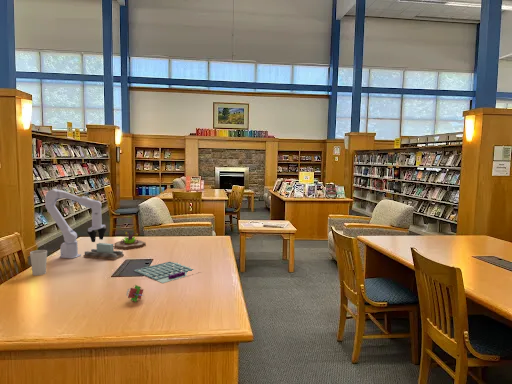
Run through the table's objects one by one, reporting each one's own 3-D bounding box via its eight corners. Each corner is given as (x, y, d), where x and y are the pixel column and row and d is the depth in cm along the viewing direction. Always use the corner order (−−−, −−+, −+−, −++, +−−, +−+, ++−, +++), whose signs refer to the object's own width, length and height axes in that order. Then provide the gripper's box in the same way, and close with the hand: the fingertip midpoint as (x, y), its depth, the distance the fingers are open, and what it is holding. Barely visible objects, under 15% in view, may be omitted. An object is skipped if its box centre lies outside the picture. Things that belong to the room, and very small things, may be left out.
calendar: (174, 262, 222) (174, 259, 221) (204, 272, 203) (204, 268, 203) (133, 272, 202) (133, 268, 202) (162, 284, 183) (162, 279, 183)
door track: (83, 257, 228) (83, 252, 228) (94, 253, 238) (93, 248, 237) (114, 260, 223) (114, 254, 223) (123, 255, 233) (123, 251, 232)
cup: (28, 273, 195) (27, 251, 194) (45, 270, 201) (44, 249, 200) (33, 277, 190) (32, 254, 188) (50, 273, 195) (49, 251, 194)
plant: (109, 246, 257) (108, 231, 256) (133, 242, 273) (133, 227, 272) (124, 251, 245) (124, 235, 244) (149, 246, 260) (149, 230, 259)
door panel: (113, 254, 230) (113, 244, 230) (110, 256, 227) (110, 245, 227) (99, 253, 233) (99, 242, 232) (96, 254, 230) (96, 243, 229)
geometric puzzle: (141, 290, 166) (132, 279, 162) (150, 294, 162) (141, 283, 158) (130, 303, 162) (120, 292, 158) (139, 307, 158) (129, 296, 154)
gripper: (94, 221, 224) (95, 243, 225) (109, 218, 238) (109, 238, 239) (84, 221, 225) (85, 242, 226) (100, 217, 239) (100, 238, 241)
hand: (97, 240), depth 233 cm, fingers open, 7 cm apart
